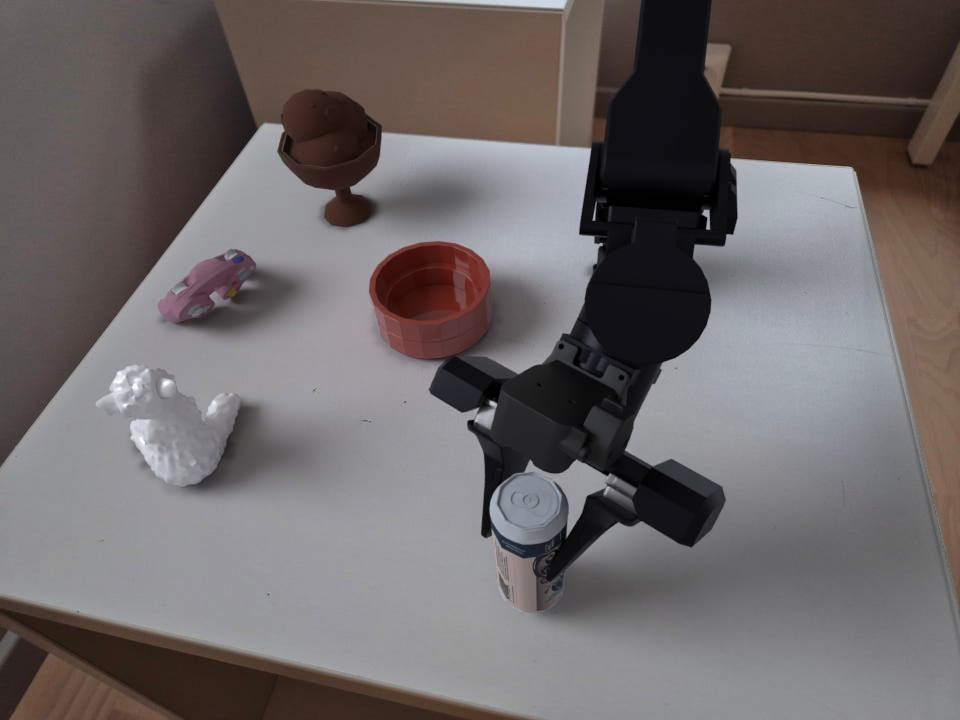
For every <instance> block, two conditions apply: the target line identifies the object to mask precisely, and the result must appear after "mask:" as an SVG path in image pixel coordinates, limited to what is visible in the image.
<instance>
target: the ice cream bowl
mask: <svg viewBox="0 0 960 720" xmlns="http://www.w3.org/2000/svg"><path fill="white" fill-rule="evenodd" d="M280 123H281V125H282V128H283V131H282V132H281V134H280V139H279V143H278V147H277V151H276V152H277V154H278V156H279V157H280V160H281V161H282V163H283V165H284V166H286V168H288V170H289V171H291V172H292V174H294V176H296V177H297V178H298V179H299V180H300V181H301V182H302V183H304V185H307V186H309V187H312V188H314V189H320V190H329V191H334V193H335V196H334V197H333V198H332V199H331V200H329V201H328V202H327V203H326V204H325V206H324V207H325V208H324V214H323V219H325V220H326V221H327V222H328V223H329V224H330V225H331V226H336V227H341V228H348V227H351V226H355V225H359V224H362V223H363V222H364V221H366V219H367V218H369V217H370V216H371V215H372V207H373V206H372V203H371V201H369V200H368V199H367V198H366V197H365V196H364V195H362V194H357V193H353V192H352V190H351V187H354V186H356V185H358V184H359V183H360V182H361V181H362V180H364V179H366V177H367V176H369V175H370V174H371V172H372V171H373V170H374V169H375V168H376V167H377V166H378V163H379V160H380V157H381V148H382V140H383V139H382V138H383V137H382V136H383V125H382V124H381V123H379V122H378V121H376V119H374V118H373V117H371V116H370V115H368V114H367V113H366V110H365V108H364V107H363V106H362V105H361V104H360V103H359V102H358V101H355V100H354V99H353V98H351V97H349V96H348V95H346V94H345V93H342V92H341V91H335V90H332V91H331V90H322V89H319V88H314V89H307V88H305V89H302V90H299V91H298V92H295V93H293V94H291V96H289V98H288V99H287V100H286V101H285V103H284V104H283V106H282V113H281V115H280Z"/></svg>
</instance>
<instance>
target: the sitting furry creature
mask: <svg viewBox="0 0 960 720" xmlns="http://www.w3.org/2000/svg"><path fill="white" fill-rule="evenodd" d="M175 379H176V375H175V373H174V374H173V373H171V374H169V373H168V370H166V369H162V368H160V367H156V368H153V369H152V368H150V367H148V365H147V364H141V365H140V364H139V363H135V364H132V365H127V366H126V367H125V368H124V369H120V370H118V371H117V372H116V375H115V377H114V379H113V380H112V382H111V383H110V386H109V391H110V393H108V394H106V395H104V396H102V397H100V398H99V399H98V400H97V401H96V402H95V406H97V407H98V408H99V409H100V410H101V411H103V412H104V413H105V414H106V415H108V416H114V415H116V414H119V413H120V415H121V417H122V419H123V420H125V419H128V418H129V419H130V418H134V419H135V420H131V422H130V425H129V426H130V427H129V428H130V433H131V435H130V437H129V438H130V440H131V441H132V442H133V443H134V444H135V447H136V448H137V449H138V450H139V451H140V453H141V454H142V456H143V457H144V458H143V459H144V460H145V462H146V463H147V465H148V466H149V467H150V468H151V470H150V471H151V472H153V473H155V477H157V478H159V479H162V480H163V481H164V483H166V484H167V485H173V486H177V487H180V488H184V487H186V486H189V485H197V484H199V483H202V481H203V480H204V479H205V478H207V477H208V476H211V475H212V473H214V471H215V470H216V469H217V468H218V465H219V462H220V461H221V459H222V455H224V453H225V448H226V447H227V441H228V438H229V436H230V435H231V433H232V432H234V426H235V425H236V419H237V417H238V415H239V411H240V409H241V402H242V399H241V396H240V395H239V394H238V393H236V392H230V393H229V394H227V393H226V392H223V393H220V394H218V395H217V396H216V397H215V398H214V399H213V400H212V401H211V403H210V405H209V406H208V407H207V412H206V414H205V417H203V412H202V410H201V409H199V407H198V405H197V403H196V401H197V399H196V397H195V396H193V395H191V396H188V395H186V394H183V393H182V392H180V391H179V390H178V385H177V381H176V380H175Z"/></svg>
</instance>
